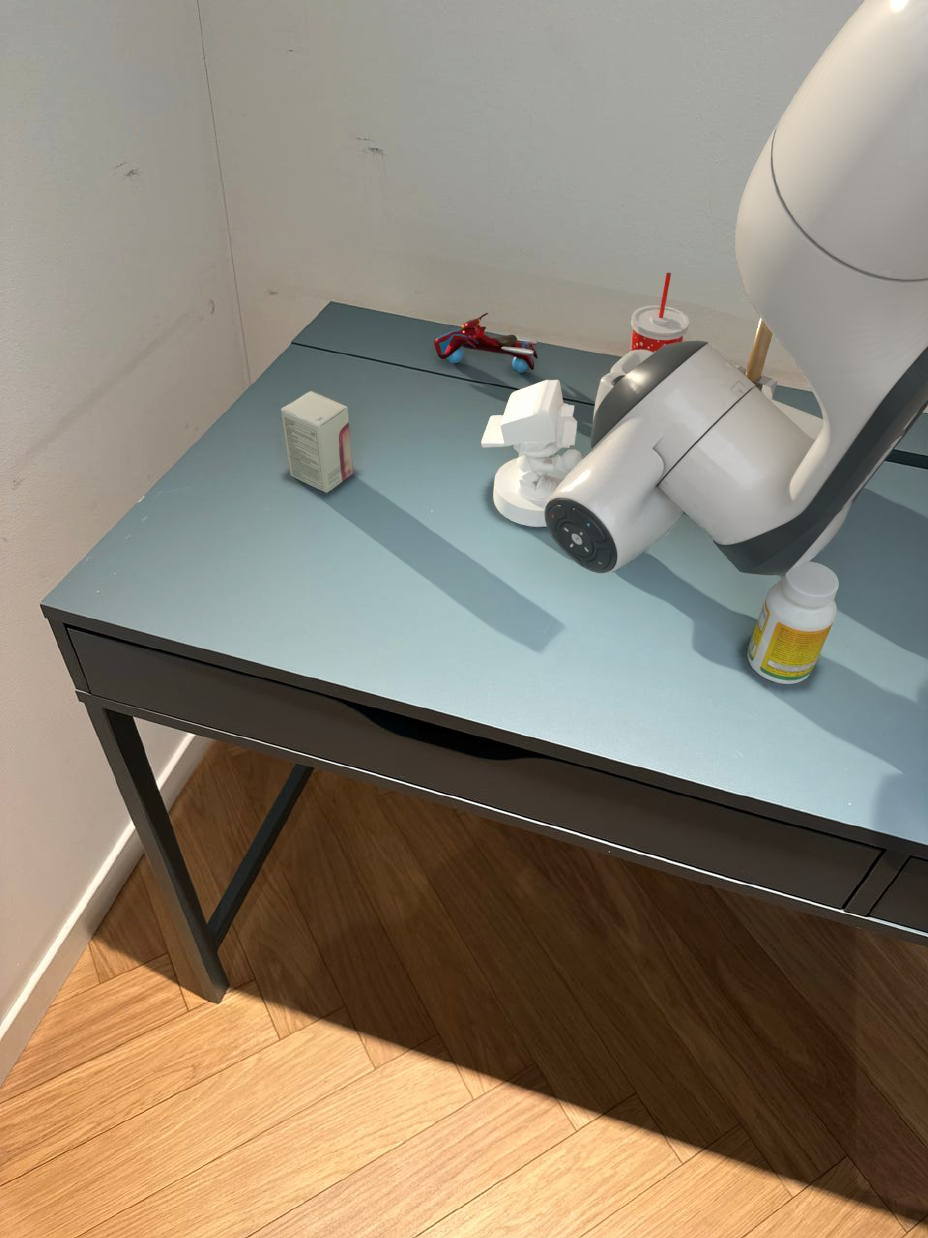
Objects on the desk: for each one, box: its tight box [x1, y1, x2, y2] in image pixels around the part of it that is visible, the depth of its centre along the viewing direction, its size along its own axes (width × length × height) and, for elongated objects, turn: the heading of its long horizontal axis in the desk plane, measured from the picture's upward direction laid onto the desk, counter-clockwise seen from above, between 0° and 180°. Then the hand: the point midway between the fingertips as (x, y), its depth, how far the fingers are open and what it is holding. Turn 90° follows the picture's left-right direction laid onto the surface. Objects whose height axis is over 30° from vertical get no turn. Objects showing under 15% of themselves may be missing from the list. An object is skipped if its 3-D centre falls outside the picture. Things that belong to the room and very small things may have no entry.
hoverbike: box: [433, 312, 539, 374], centre depth 109 cm, size 5×12×6 cm, turn 77°
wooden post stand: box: [745, 317, 773, 384], centre depth 89 cm, size 5×5×18 cm
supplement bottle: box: [746, 560, 840, 685], centre depth 76 cm, size 5×5×10 cm
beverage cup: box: [629, 272, 690, 353], centre depth 103 cm, size 6×6×14 cm
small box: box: [280, 390, 354, 494], centre depth 93 cm, size 5×4×8 cm
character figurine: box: [480, 379, 584, 528], centre depth 90 cm, size 9×10×12 cm
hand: (754, 379), depth 89 cm, fingers closed on wooden post stand
